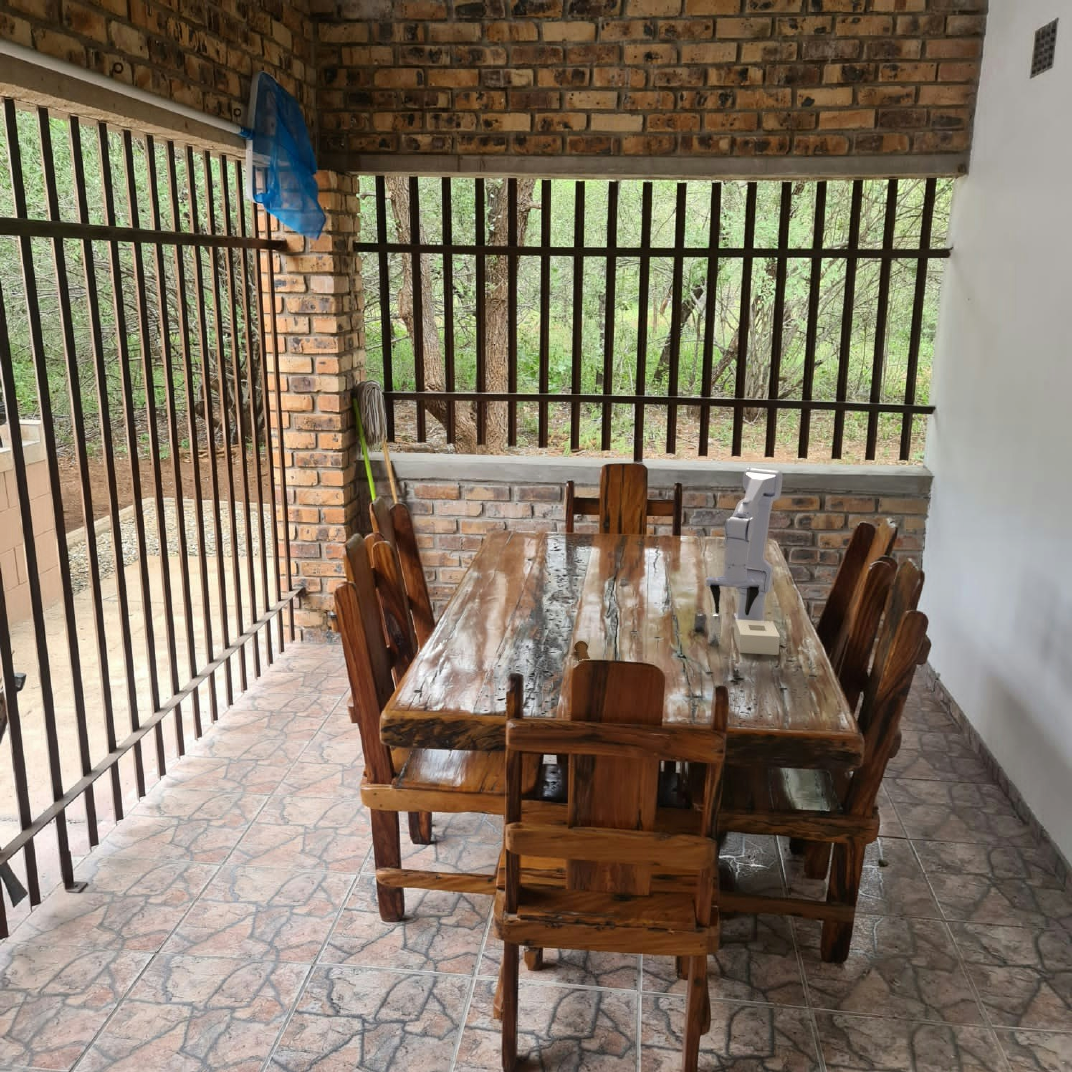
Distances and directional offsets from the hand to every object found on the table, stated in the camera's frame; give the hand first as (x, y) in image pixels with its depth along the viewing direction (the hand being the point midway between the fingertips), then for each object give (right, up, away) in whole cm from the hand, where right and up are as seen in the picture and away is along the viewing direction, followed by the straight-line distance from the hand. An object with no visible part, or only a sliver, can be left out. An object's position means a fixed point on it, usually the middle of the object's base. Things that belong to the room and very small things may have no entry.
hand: (731, 613), depth 250 cm
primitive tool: (-39, -13, -12) cm, 42 cm away
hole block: (+7, -9, +4) cm, 12 cm away
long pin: (-4, -8, +5) cm, 11 cm away
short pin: (-6, -6, +15) cm, 17 cm away
